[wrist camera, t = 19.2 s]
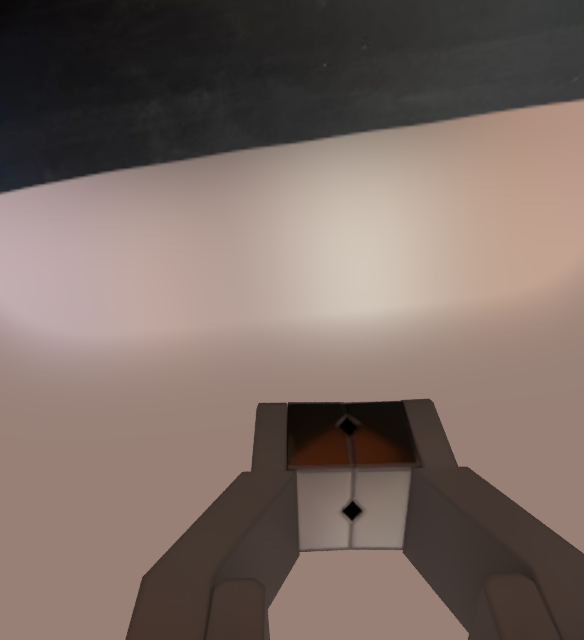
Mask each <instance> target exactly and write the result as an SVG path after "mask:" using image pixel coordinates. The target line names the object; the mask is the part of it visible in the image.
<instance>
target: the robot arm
mask: <svg viewBox="0 0 584 640" xmlns="http://www.w3.org/2000/svg"><path fill="white" fill-rule="evenodd" d="M254 434H255V435H254V445H253V456H252V468H251V472H242V473H241V474H240V475H239V476H238V477H237V478H236V479H235V480H234V481H233V482H232V483H231V485H229V487H228V488H227V489H226V490H225V491H224V492H223V493H222V494H221V495H220V496H219V497H218V498H217V499H216V500H215V501H214V502H213V503H212V504H211V506H210V507H209V508H208V509H207V510H206V511H205V512H204V513H203V514H202V515H201V516H200V517H199V518H198V519H197V520H196V521H195V522H194V523H193V524H192V525H191V527H190V528H189V529H188V530H187V531H186V532H185V533H184V534H183V535H182V536H181V537H180V538H179V539H178V540H177V541H176V543H174V544H173V545H172V547H171V548H170V549H169V550H168V551H167V552H166V553H165V554H164V555H163V556H162V557H161V558H160V559H159V560H158V561H157V563H155V565H154V566H153V567H152V568H151V569H150V570H149V571H148V572H147V573H146V574H145V575H144V576H143V577H142V581H141V584H140V588H139V592H138V596H137V599H136V603H135V607H134V610H133V614H132V618H131V621H130V625H129V629H128V632H127V636H126V640H270V634H269V622H268V608H269V606H270V605H271V603H272V601H273V600H274V598H275V596H276V595H277V593H278V591H279V589H280V588H281V586H282V584H283V582H284V581H285V579H286V577H287V576H288V574H289V572H290V571H291V569H292V567H293V565H294V564H295V562H296V560H297V559H298V557H299V552H308V551H309V552H310V551H329V550H330V551H331V550H351V549H352V550H354V549H355V550H403V553H404V555H405V556H406V557H407V558H408V559H409V561H410V562H411V563H412V564H413V566H414V567H415V568H416V569H417V570H418V572H419V573H420V574H421V575H422V577H423V578H424V579H425V580H426V581H427V583H428V584H429V585H430V586H431V587H432V589H433V590H434V591H435V592H436V594H437V595H438V596H439V597H440V598H441V600H442V601H443V602H444V603H445V604H446V606H447V607H448V608H449V609H450V611H451V612H452V613H453V614H454V616H455V617H456V618H457V619H458V620H459V622H460V623H461V624H462V625H463V627H464V628H465V629H466V630H467V631H468V633H469V637H468V640H584V554H583V553H582V552H581V551H579V550H578V549H577V548H575V547H574V546H573V545H571V544H570V543H569V542H567V541H566V540H565V539H563V538H562V537H561V536H559V535H558V534H556V533H555V532H554V531H552V530H551V529H550V528H549V527H547V526H546V525H545V524H543V523H542V522H541V521H539V520H538V519H536V518H535V517H534V516H532V515H531V514H530V513H528V512H527V511H526V510H524V509H523V508H522V507H520V506H519V505H518V504H516V503H515V502H514V501H512V500H511V499H510V498H508V497H507V496H506V495H504V494H503V493H502V492H500V491H499V490H498V489H496V488H495V487H494V486H492V485H491V484H490V483H488V482H487V481H486V480H484V479H483V478H482V477H480V476H479V475H477V474H476V473H475V472H474V471H472V470H471V469H470V468H468V467H458V465H457V462H456V460H455V457H454V455H453V452H452V450H451V447H450V444H449V442H448V439H447V437H446V434H445V431H444V429H443V426H442V424H441V421H440V418H439V416H438V413H437V411H436V408H435V406H434V403H433V402H432V401H431V400H430V399H414V400H401V401H386V402H385V401H383V402H351V403H344V402H319V403H318V402H304V403H303V402H302V403H301V402H288V407H287V403H259V404H258V406H257V411H256V422H255V433H254Z"/></svg>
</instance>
